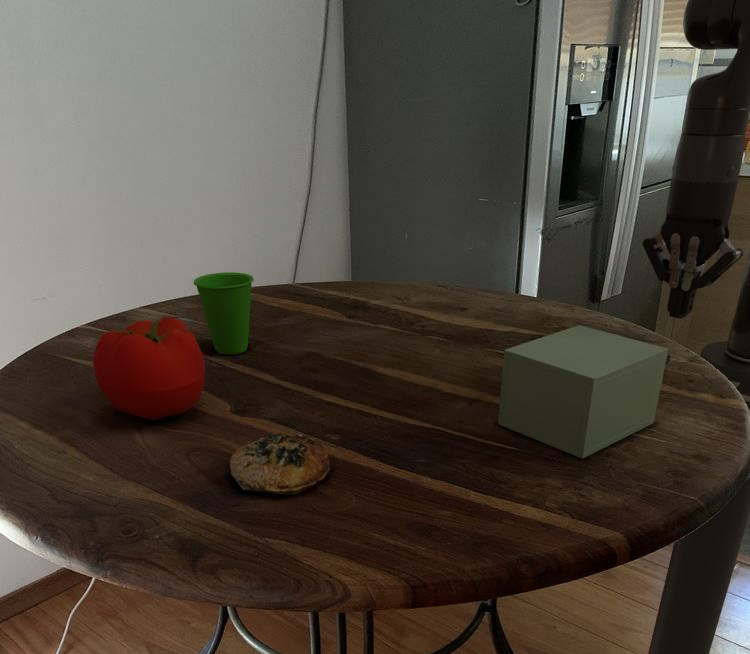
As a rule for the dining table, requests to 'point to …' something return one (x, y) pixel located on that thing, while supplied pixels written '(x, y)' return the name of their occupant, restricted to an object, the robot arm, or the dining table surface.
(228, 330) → the cup
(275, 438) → the bread roll
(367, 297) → the dining table surface
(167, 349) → the tomato
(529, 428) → the sage green box
